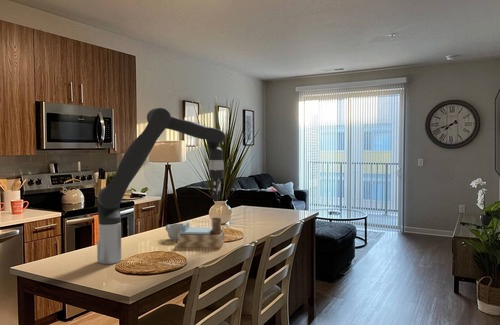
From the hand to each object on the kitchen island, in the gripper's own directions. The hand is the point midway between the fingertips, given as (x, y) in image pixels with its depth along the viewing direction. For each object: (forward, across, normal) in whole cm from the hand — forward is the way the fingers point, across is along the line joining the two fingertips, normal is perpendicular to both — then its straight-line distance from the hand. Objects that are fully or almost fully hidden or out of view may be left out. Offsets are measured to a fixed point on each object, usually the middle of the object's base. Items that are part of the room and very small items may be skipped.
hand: (216, 200), depth 192 cm
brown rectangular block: (+23, 0, 0) cm, 23 cm away
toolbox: (+24, 0, -8) cm, 25 cm away
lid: (+16, 0, -10) cm, 19 cm away
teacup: (+24, -13, -25) cm, 37 cm away
